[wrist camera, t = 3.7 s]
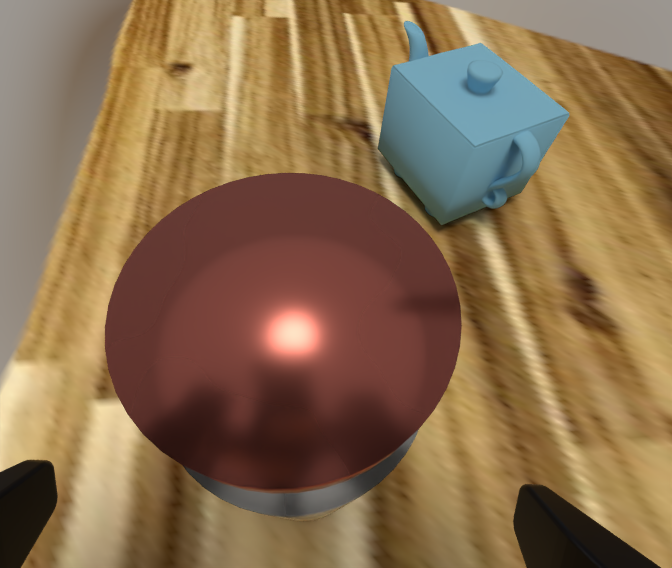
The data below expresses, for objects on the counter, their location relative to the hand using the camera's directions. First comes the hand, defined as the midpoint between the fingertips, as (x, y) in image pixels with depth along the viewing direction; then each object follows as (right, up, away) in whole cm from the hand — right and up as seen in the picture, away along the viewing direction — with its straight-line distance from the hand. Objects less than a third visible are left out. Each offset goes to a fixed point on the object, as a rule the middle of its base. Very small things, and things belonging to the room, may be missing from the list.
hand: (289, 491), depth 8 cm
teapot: (+8, +11, +19) cm, 23 cm away
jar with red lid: (0, -3, +9) cm, 10 cm away
